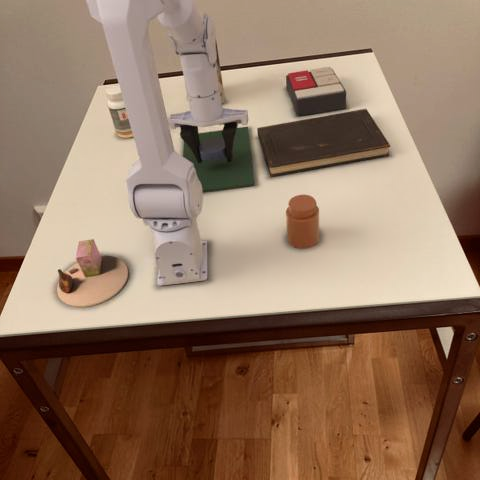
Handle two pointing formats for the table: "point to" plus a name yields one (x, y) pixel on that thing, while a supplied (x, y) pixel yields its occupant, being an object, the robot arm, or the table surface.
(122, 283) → the dessert plate
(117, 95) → the pill bottle
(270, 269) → the table surface
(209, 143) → the lid
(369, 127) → the hardcover book
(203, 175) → the mat
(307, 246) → the jar
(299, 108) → the grey box
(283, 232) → the table surface
